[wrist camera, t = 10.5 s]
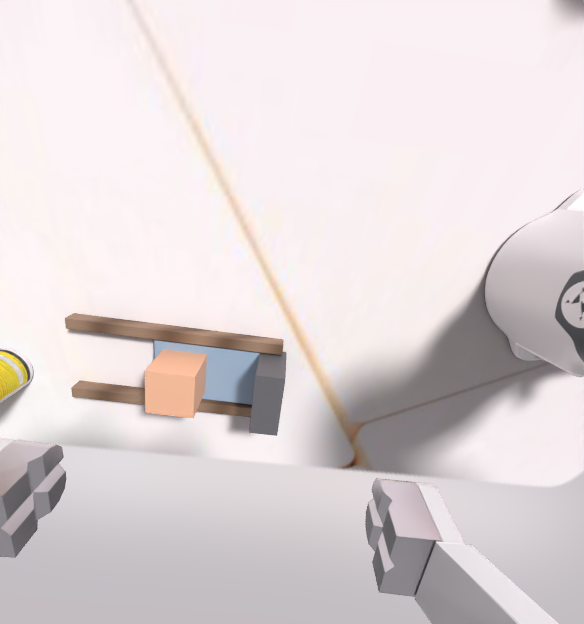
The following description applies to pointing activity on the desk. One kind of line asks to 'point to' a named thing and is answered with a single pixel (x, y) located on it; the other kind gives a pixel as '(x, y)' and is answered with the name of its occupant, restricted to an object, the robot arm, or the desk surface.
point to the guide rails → (166, 334)
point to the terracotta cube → (175, 383)
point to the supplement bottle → (13, 372)
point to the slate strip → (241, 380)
